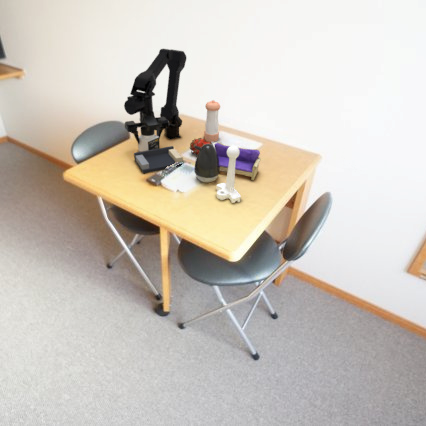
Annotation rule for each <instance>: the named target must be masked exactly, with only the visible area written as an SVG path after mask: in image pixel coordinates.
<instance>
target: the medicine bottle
mask: <svg viewBox="0 0 426 426" xmlns="http://www.w3.org/2000/svg"><path fill="white" fill-rule="evenodd" d="M155 131H156V130H153V131H147V130H146V127H140V135H138V137H139V143H140V144H138V143H137V151H138V152H142V151H147V150H153V149H158V148H161V146H160V139H159V136H157V134H156V133H155Z"/></svg>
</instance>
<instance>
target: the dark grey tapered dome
mask: <svg viewBox="0 0 426 426" xmlns="http://www.w3.org/2000/svg"><path fill="white" fill-rule="evenodd" d="M194 148H195V149H197V150H199V153H198V155H196V158H195V162H194V171H193V172H194V174H195V177H196V178H197V179H198V180H199V181H200V182H202V183H212V182H214V181H216V180H217V179H218V178H219V177H218V176H219V175H220V173H221V170H220V163H219V158H218V154H217V151H216V149H215V145H214V144H213V145H211V144H205V145H203V146H202V147H199V146H196V145H195V146H194Z"/></svg>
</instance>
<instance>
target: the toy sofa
mask: <svg viewBox="0 0 426 426" xmlns="http://www.w3.org/2000/svg"><path fill="white" fill-rule="evenodd" d="M213 146H214V148H215V149H216V151H217V154H218V158H219V163H220V171H223V172H228V165H229V157H228V155H227V149H228V148H229V147H230V146H231V145H227V144H224V143H222V142H219V141H216V143H214V144H213ZM237 147H238V148H239V151H240V153H239V156H238V157H237V158H236V162H235V175H241V176H246V177H251V181H254V180H255V178H256V176H257V174H258V172H259V164H260V163H261V160H262V158H261V157H260V155H261V151H260V149H258V148H245V147H239V146H237Z"/></svg>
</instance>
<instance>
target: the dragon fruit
mask: <svg viewBox="0 0 426 426" xmlns="http://www.w3.org/2000/svg"><path fill="white" fill-rule="evenodd" d="M205 144H211V145H213V146H214V144H213V142H210V141H206V138H204V137H203V138H201V137H198V138H193V140H192V141H191V142H190V143H189V149H190V153H191V154H195V156H197V155H198V153H199V150H197V149H195V148H194V146H195V145H196V146H199V147H202V146H203V145H205Z"/></svg>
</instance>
